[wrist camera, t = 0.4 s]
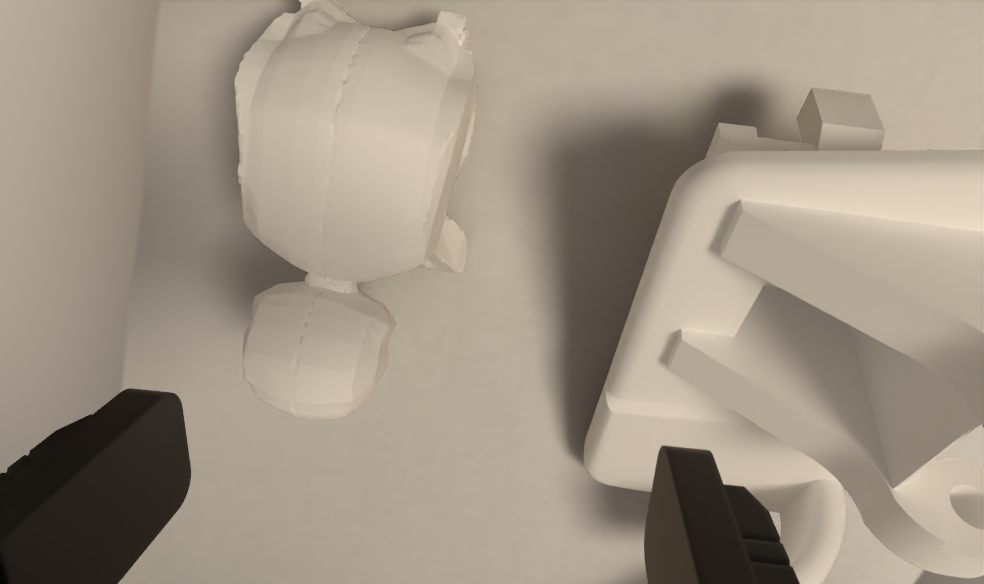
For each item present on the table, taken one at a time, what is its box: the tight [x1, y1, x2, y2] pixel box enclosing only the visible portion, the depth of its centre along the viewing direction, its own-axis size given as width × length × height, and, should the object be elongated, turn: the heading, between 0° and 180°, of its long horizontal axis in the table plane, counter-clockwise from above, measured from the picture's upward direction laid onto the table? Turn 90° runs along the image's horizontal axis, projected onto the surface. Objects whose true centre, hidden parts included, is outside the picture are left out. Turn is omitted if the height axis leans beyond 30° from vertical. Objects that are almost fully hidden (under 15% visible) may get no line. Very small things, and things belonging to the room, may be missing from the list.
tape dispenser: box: [584, 88, 984, 584], centre depth 23 cm, size 20×11×13 cm, turn 174°
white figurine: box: [235, 0, 478, 419], centre depth 24 cm, size 9×8×15 cm
